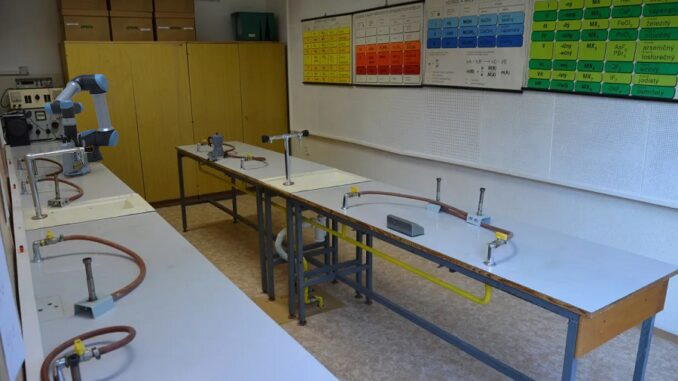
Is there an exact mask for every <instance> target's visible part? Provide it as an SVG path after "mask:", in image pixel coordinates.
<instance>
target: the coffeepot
mask: <svg viewBox="0 0 678 381" xmlns="http://www.w3.org/2000/svg"><path fill="white" fill-rule="evenodd" d="M224 137H225V135H220V134H219V132H215V134H214V135H211V136H208V137H207V138H206V139H207V142H208V145H209V147H211V148H212V157H223V156H225V151H224V148H223V144H224V143H223V141H224ZM211 142H212V144H211Z"/></svg>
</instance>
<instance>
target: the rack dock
mask: <svg viewBox="0 0 678 381" xmlns="http://www.w3.org/2000/svg"><path fill="white" fill-rule="evenodd" d="M62 171H63V177H73V176H74V177H76V176H77V177H78V176H79V177H80V176H86V175H89V174H90V173H91V166H90V165H88V166H87V167H84V168H81V170H80V171H81V172H82V173H80V174H71V175H66V173H67V172H65V171H64V168H63V169H62ZM72 173H78V172H72Z"/></svg>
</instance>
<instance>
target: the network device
mask: <svg viewBox="0 0 678 381" xmlns="http://www.w3.org/2000/svg"><path fill="white" fill-rule="evenodd" d="M77 140H78V139H77ZM82 142H83V147H85V141H84V140H82ZM78 143H79V140H78ZM74 147H76V145H75V142H74V140H72V141H71V142H68V143H67V142H66V143H64V144H63V143H62V144H61V143H60V151H61V150H62V149H68V148H74ZM61 156H62V157H61V158H62V163H63V164H62V165H63V169H64V171H65V172H67V173H66V175H71V174H80V173H82V172H81V171H80V170H81V169H82V168H85V167H87V166H89V162H88V161H87V153H85V154H84V164H83V162H82V159H80V160H77V153H76V152H74V153H63V154H62V153H61ZM80 158H81V157H80ZM72 172H78V173H72Z"/></svg>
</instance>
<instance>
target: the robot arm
mask: <svg viewBox="0 0 678 381" xmlns="http://www.w3.org/2000/svg"><path fill="white" fill-rule="evenodd" d="M108 90H109V81H108V79H107V77H106V76H105V75H104V74H100V73H99V74H98V73H95V74H93V73H92V74H80V75H77V76H75V77H73V78H72V79H71V78H70V80H69V81H68V82H67V83H66V86H65V87H64V89H63V90H62V91H61V93H60V94H59V95H57V97H56V98H55V99H54V101H53V102H48V103H45V105H44V111H45V113H46V114H47V115H52V116H53V115H61V119H62V124H63V131H64V133H62V134H60V135H59V136H60V138H61V142H62V144H64V143H68V142H72V141H74V142H75V145H76V147H83V142H82V140H84V141H85V146H86V145H93V147H94V150H93V152H92V153H87V161H88V163H93V162H100V161H103V160H104V156H103V154H102V152H101V150H100V147H116V146H117V145H118V142H119V136H120V135H119V132H118V130H115V127H114V126H112V122H111V118H110V112H109V108H108V103H107V98H106V94H107V93H108V92H107V91H108ZM81 92H88V93H89V95H90V96H92V101H93V106H94V110H95V115H96V119H97V124H98V128H97V129H96V128H94V129H88V130H83V131H80V133H79V132H78V127H77V121H76V120H77V119H76V115H79V114H82V113H83V112H84V108H85V107H84V105H83V104H82V103H81V102H77V101H75V102H73V99H74V98H75V96H76V95H78V94H80V93H81ZM71 140H72V141H71ZM78 140H79V143H78ZM76 153H77V160H80V159H81V158H80V155H79V153H78V152H76Z"/></svg>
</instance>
